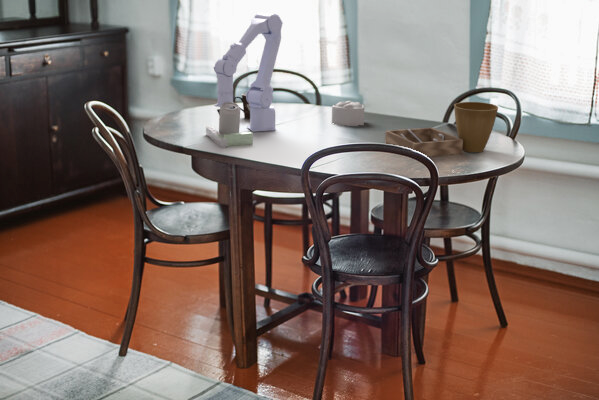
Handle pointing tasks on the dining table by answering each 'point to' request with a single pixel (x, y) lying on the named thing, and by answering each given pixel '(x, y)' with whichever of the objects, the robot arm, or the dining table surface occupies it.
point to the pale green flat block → (229, 138)
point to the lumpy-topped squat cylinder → (348, 113)
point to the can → (229, 118)
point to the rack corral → (426, 141)
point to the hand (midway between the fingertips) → (225, 128)
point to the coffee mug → (244, 106)
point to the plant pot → (474, 124)
